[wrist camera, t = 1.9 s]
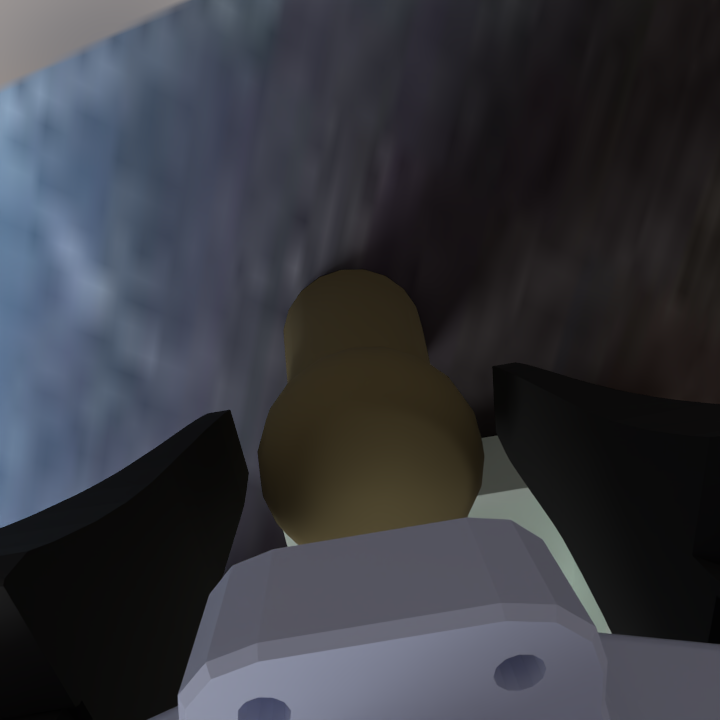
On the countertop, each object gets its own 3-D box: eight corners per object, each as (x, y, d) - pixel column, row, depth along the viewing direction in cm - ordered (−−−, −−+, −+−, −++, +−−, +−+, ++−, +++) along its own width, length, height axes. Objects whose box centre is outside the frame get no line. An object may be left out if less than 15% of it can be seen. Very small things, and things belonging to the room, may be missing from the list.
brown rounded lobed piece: (384, 241, 18) (455, 302, 7) (444, 364, 20) (566, 546, 9) (256, 311, 18) (158, 456, 8) (326, 423, 20) (320, 652, 10)
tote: (361, 749, 29) (365, 831, 25) (291, 469, 21) (282, 528, 17) (570, 714, 29) (606, 791, 25) (577, 422, 21) (630, 470, 17)
